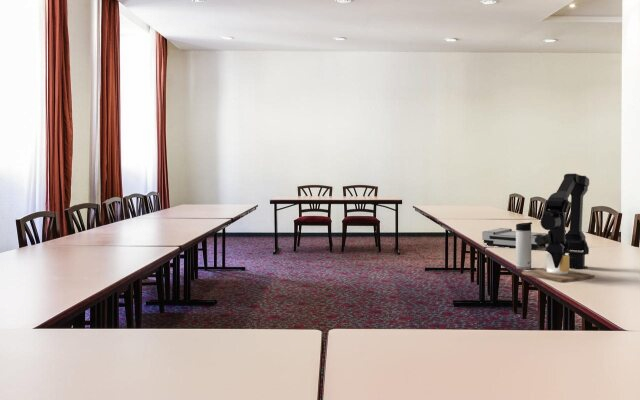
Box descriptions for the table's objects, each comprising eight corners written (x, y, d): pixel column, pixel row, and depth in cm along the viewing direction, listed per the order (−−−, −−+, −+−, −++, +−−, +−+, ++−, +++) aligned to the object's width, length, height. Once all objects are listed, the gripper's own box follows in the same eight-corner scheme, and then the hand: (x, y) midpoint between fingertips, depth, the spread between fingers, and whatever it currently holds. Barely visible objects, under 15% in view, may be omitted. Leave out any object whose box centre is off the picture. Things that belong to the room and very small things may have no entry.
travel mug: (533, 269, 240) (533, 223, 239) (517, 269, 241) (516, 223, 240) (530, 267, 246) (530, 221, 245) (515, 267, 248) (514, 221, 246)
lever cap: (555, 270, 232) (555, 252, 231) (572, 273, 224) (573, 255, 224) (542, 272, 228) (542, 254, 227) (559, 275, 221) (559, 256, 220)
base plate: (554, 269, 239) (554, 267, 239) (594, 277, 221) (594, 274, 221) (521, 274, 231) (521, 271, 231) (561, 282, 213) (561, 279, 213)
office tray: (538, 251, 292) (538, 235, 292) (482, 246, 315) (482, 231, 315) (555, 246, 306) (555, 231, 306) (500, 242, 329) (500, 228, 329)
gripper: (540, 225, 237) (540, 262, 238) (531, 229, 221) (531, 268, 222) (569, 226, 231) (569, 263, 232) (562, 230, 215) (562, 271, 216)
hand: (557, 266), depth 226 cm, fingers closed on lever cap, 5 cm apart
